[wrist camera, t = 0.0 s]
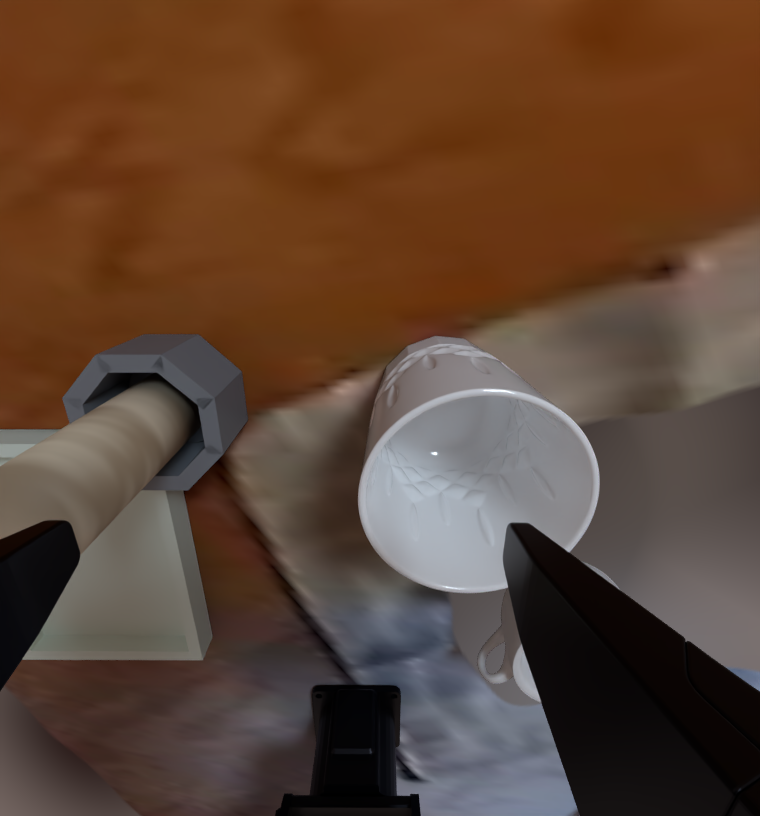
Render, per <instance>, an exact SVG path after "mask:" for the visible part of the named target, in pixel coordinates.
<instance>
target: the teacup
mask: <svg viewBox="0 0 760 816" xmlns="http://www.w3.org/2000/svg"><path fill="white" fill-rule="evenodd" d="M581 562H583V561H581ZM583 563H584V564H585V565H587V566H588V567H589V568H591V569H592V570H593V571H595V572H596V573H598V574H599V575H600V576H602V577H603V578H604V579H606V580H607V581H608V582H610V583H611V584H612V585H614V586H615V587H617V588H618V586H617V585H616V584H615V583H614V582H613V581H612V580H611V579H610V578H609V577H608V576H607V575H606V574H605V573H603V572H602V571H600V570H599V569H597V568H596V567H594V566H592V565H590V564H588V563H585V562H583ZM618 589H619V588H618ZM619 590H620V589H619ZM501 621H502V625H501V626H500V628H499V629H498V630H497V631H496V632H495V633H494V634H493V635H492V636H491V637H490V638H489V639H488V641H487V642H486V643H485V644H484V646H483V647H482V648H481V650H480V652H479V654H478V659H477V665H478V669H479V671H480V673H481V675H482V676H483V677H484V679H485V680H487V681H488V682H490V683H494V684H499V683H503V682H505V681H507V680H509V679H511V678H512V677H513V676H514V678H515V681H516V683H517V685H518V686H519V688H520V689H521V690H522V691H523V692H524V693H525V694H526V695H527V696H529V697H531V698H532V699H534V700H536V701H538V702H541V700H540V697H539V694H538V691H537V688H536V686H535V683H534V680H533V677H532V674H531V671H530V668H529V665H528V662H527V659H526V656H525V653H524V650H523V647H522V644H521V641H520V637H519V633H518V629H517V625H516V620H515V616H514V612H513V607H512V603H511V598H510V594H509V589H508V588H507V590H506V592H505V595H504V599H503V603H502V610H501ZM503 642H505V645H506V646H505V656H504V660H503V664H502V666H501V668H500V670H499V671H498V672H497V673H494V674H489V673H488V672H487V670H486V666H485V662H486V658H487V656H488V654H489V653H490V651H491V650H492V649H494V648H495V647H496V646H498V645H499V644H501V643H503Z"/></svg>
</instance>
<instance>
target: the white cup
mask: <svg viewBox="0 0 760 816" xmlns="http://www.w3.org/2000/svg"><path fill="white" fill-rule="evenodd" d="M599 484H600V482H599V470H598V464H597V460H596V457H595V454H594V451H593V449H592V447H591V445H590V443H589V441H588V439H587V437H586V436H585V434H584V433H583V431H582V430H581V429H580V427H579V426H578V425H577V424H576V423H575V422H574V421H573V420H572V419H571V418H570V417H569V416H568V415H567V414H565V413H564V412H563V411H562V410H560V409H559V408H558V407H557V406H555V405H554V404H553V403H552V402H550V401H549V400H548V399H547V398H546V397H544V396H543V395H542V394H541V393H540V392H538V391H537V390H536V389H535V388H534V387H532V386H531V385H530V384H529V383H528V382H526V381H525V380H524V379H523V378H522V377H520V376H519V375H518V374H517V373H516V372H514V371H513V370H512V369H510V368H509V367H508V366H506V365H505V364H504V363H502V362H501V361H499V360H498V359H497V358H495V357H494V356H492V355H491V354H489V353H486V352H485V351H483V350H482V349H480V348H478V347H477V346H475V345H474V344H472V343H470V342H469V341H467V340H466V339H462V338H451V337H441V336H434V337H431V338H428V339H425V340H422V341H420V342H417V343H414V344H411V345H409V346H407V347H406V348H405V349H404V350H403V351H402V352H401V353H400V354H399V355H398V356H397V357H396V358H395V359H394V360H393V361H391V362H390V363H389V364H388V365H387V367H386V370H385V372H384V375H383V378H382V381H381V384H380V387H379V390H378V393H377V395H376V399H375V403H374V407H373V411H372V415H371V419H370V424H369V430H368V436H367V442H366V448H365V454H364V460H363V466H362V471H361V477H360V482H359V489H358V509H359V515H360V520H361V523H362V526H363V529H364V532H365V534H366V536H367V538H368V540H369V542H370V544H371V545H372V547H373V548H374V550H375V551H376V552H377V553H378V555H379V556H380V557H381V558H382V559H383V560H384V561H385V562H386V563H387V564H388V565H389V566H390V567H392V568H393V569H394V570H395V571H397V572H398V573H400V574H401V575H403V576H405V577H406V578H408V579H410V580H412V581H414V582H416V583H419V584H421V585H424V586H427V587H430V588H433V589H437V590H441V591H447V592H455V593H483V592H491V591H497V590H501V589H505V588H508V585H507V580H506V576H505V571H504V566H503V549H504V542H505V535H506V528H507V526H508V524H509V523H512V522H521V523H529V524H531V525H533V526H534V527H535V528H537V529H538V530H539V531H541V532H542V533H543V534H545V535H546V536H547V537H549V538H550V539H552V540H553V541H554V542H556V543H557V544H558V545H560V546H561V547H562V548H564V549H565V550H566V551H568V552H570V551H571V550H572V549H573V548H574V546H575V545H576V544H577V543H578V541H579V540H580V539H581V537H582V536H583V534H584V533H585V531H586V529H587V528H588V526H589V524H590V522H591V520H592V517H593V515H594V512H595V509H596V505H597V501H598V495H599Z"/></svg>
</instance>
